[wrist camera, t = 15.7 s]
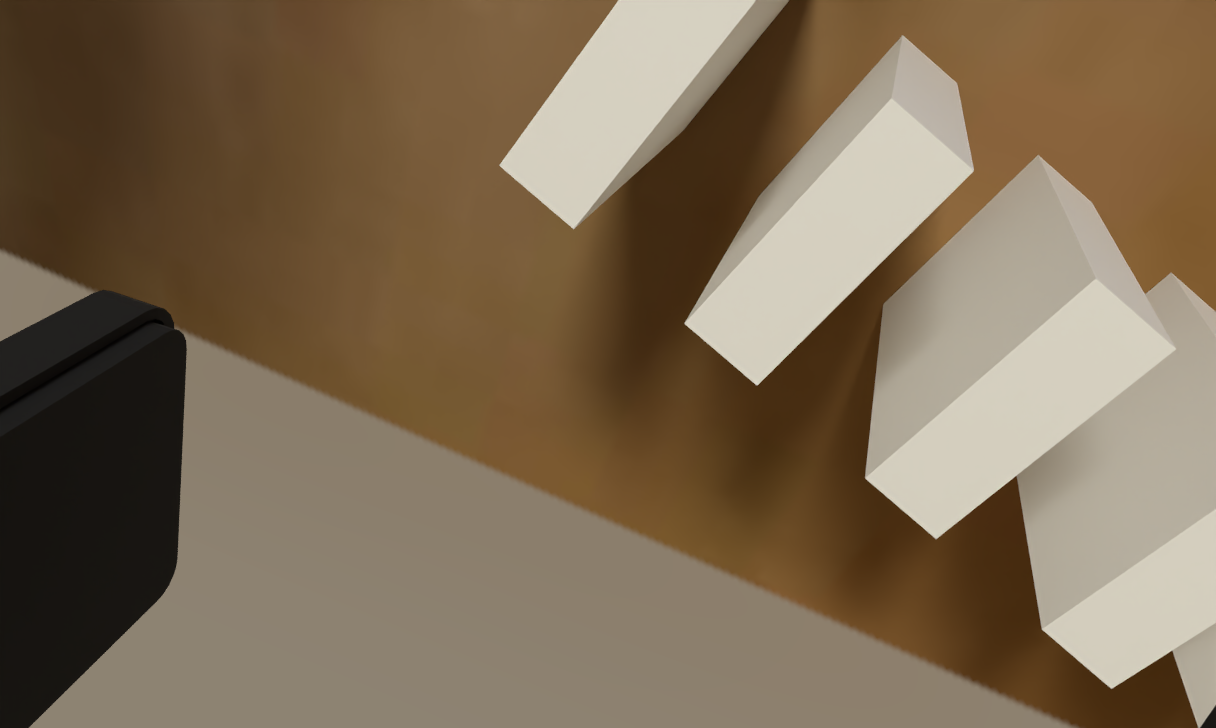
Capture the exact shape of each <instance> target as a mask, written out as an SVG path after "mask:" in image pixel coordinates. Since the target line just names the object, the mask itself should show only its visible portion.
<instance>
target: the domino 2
mask: <svg viewBox="0 0 1216 728" xmlns="http://www.w3.org/2000/svg"><path fill="white" fill-rule="evenodd" d="M973 171H974V168H973V163H972V158H971V153H970V148H969V142H968V137H967V132H966V127H965V122H964V117H963V111H962V106H961V101H960V96H959V91H958V86H957V83H956V82H955V81H954V80H953V79H952V78H950V77H949V76H948V75H947V74H946V73H945V72H944V71H943V70H941V69H940V68H939V67H938V66H937V65H936V64H935V63H933V62H932V61H931V60H930V59H929V58H928V57H927V56H926V55H924V54H923V53H922V52H921V51H920V50H919V49H918V48H917V47H915V46H914V45H913V44H912V43H911V42H910V41H909V40H907V39H906V38H905V37H904V36H903V35H902V37H901V38H900V39H899V40H898V41H897V42H896V43H895V44H894V46H893V47H892V48H891V49H890V50H889V51H888V52H887V53H886V54H885V56H884V57H883V58H882V59H881V60H880V61H879V62H878V63H877V65H876V66H875V67H874V68H873V69H872V70H871V71H870V72H869V74H868V75H867V76H866V77H865V78H864V79H863V80H862V81H861V82H860V84H859V85H858V86H857V87H856V88H855V89H854V90H853V91H852V93H851V94H850V95H849V96H848V97H847V98H846V99H845V100H844V101H843V103H842V104H841V105H840V106H839V107H838V108H837V109H836V110H835V112H834V113H833V114H832V115H831V116H830V117H829V118H828V119H827V121H826V122H825V123H824V124H823V125H822V126H821V127H820V128H819V129H818V131H817V132H816V133H815V134H814V135H813V136H812V137H811V138H810V140H809V141H808V142H807V143H806V144H805V145H804V146H803V147H802V149H801V150H800V151H799V152H798V153H797V154H796V155H795V156H794V157H793V159H792V160H791V161H790V162H789V163H788V164H787V165H786V166H785V168H784V169H783V170H782V171H781V172H780V173H779V174H778V175H777V176H776V178H775V179H774V180H773V181H772V182H771V183H770V184H769V185H768V187H767V188H766V189H765V190H764V191H763V192H762V193H761V194H760V196H759V197H758V199H757V200H756V202H755V204H754V205H753V207H752V209H751V210H750V212H749V214H748V216H747V217H746V219H745V221H744V222H743V224H742V226H741V228H740V229H739V231H738V233H737V234H736V236H735V238H734V240H733V241H732V243H731V245H730V246H729V248H728V250H727V251H726V253H725V255H724V257H723V258H722V260H721V262H720V263H719V265H718V267H717V269H716V270H715V272H714V274H713V275H712V277H711V279H710V281H709V282H708V284H707V286H706V287H705V289H704V291H703V293H702V294H701V296H700V298H699V299H698V301H697V303H696V304H695V306H694V308H693V310H692V311H691V313H690V315H689V316H688V318H687V320H686V322H685V323H684V324H685V325H686V326H688V327H689V328H690V329H691V330H692V331H694V332H695V333H696V334H697V335H698V336H699V337H701V338H702V339H703V340H704V341H705V342H706V343H708V344H709V345H710V346H711V347H712V348H713V349H715V350H716V351H717V352H718V353H719V354H720V355H722V356H723V357H724V358H725V359H726V360H727V361H729V362H730V363H731V364H732V365H733V366H734V367H736V368H737V369H738V370H739V371H740V372H741V373H743V374H744V375H745V376H746V377H747V378H749V379H750V380H751V381H752V382H753V383H754V384H756V385H758V384H759V383H760V382H761V381H762V380H763V379H764V378H765V377H766V376H767V375H768V374H770V373H771V372H772V371H773V370H774V369H775V368H776V367H777V366H778V365H779V364H780V363H781V362H782V361H783V360H784V359H785V358H786V357H787V356H788V355H789V354H790V353H791V352H792V351H793V350H794V349H795V348H796V347H797V346H798V345H799V344H800V343H801V342H802V341H803V340H804V339H805V338H806V337H807V336H808V335H809V334H810V333H811V332H812V331H813V330H814V329H815V328H816V327H817V326H818V325H819V324H820V323H821V322H822V321H823V320H824V319H825V318H826V317H827V316H828V315H829V314H830V313H831V312H832V311H833V310H834V309H835V308H836V307H837V306H838V305H839V304H840V303H841V302H842V301H843V300H844V299H845V298H846V297H847V296H848V295H849V294H850V293H851V292H852V291H853V290H854V289H855V288H856V287H857V286H858V285H859V284H860V283H861V282H862V281H863V280H864V279H865V278H866V277H867V276H868V275H869V274H870V273H871V272H872V271H873V270H874V269H875V268H876V267H877V266H878V265H879V264H880V263H881V262H882V261H883V260H884V259H885V258H886V257H887V256H888V255H889V254H890V253H892V252H893V251H894V250H895V249H896V248H897V247H898V246H899V245H900V244H901V243H902V242H903V241H904V240H905V239H906V238H907V237H908V236H909V235H910V234H911V233H912V232H913V231H914V230H915V229H916V228H917V227H918V226H919V225H920V224H921V223H922V222H923V221H924V220H925V219H926V218H927V217H928V216H929V215H930V214H931V213H932V212H933V211H934V210H935V209H936V208H937V207H938V206H939V205H940V204H941V203H942V202H943V201H944V200H945V199H946V198H947V197H948V196H949V195H950V194H951V193H952V192H953V191H954V190H955V189H956V188H957V187H958V186H959V185H960V184H961V183H962V182H963V181H964V180H965V179H966V178H967V177H968V176H969V175H970V174H971V173H972V172H973Z"/></svg>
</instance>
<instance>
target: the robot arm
mask: <svg viewBox="0 0 1216 728" xmlns="http://www.w3.org/2000/svg"><path fill="white" fill-rule="evenodd" d="M186 351H187V350H186V340H185V337H184V335H183V334H182V333H181V332H180V331H179V330H176V329H174V322H173V320H172V317H171V315H170V314H169V313H168V312H167V311H166V310H165V309H163V308H160V307H157V306H154V305H151V304H148V303H145V302H142V301H139V300H136V299H133V298H130V297H127V296H124V295H121V294H118V293H115V292H112V291H106V290H102V291H99V292H95V293H93V294H91V295H89V296H87V297H85V298H84V299H81V300H79V301H77V302H75V303H73V304H72V305H70V306H68V307H66V308H64V309H62V310H60V311H58V312H56V313H54V314H52V315H50V316H49V317H47V318H45V319H43V320H41V321H39V322H37V323H35V324H33V325H31V326H29V327H27V328H25V329H24V330H21V331H20V332H18V333H16V334H14V335H12V336H10V337H8V338H6V339H4V340H2V341H0V728H29V727H30V726H31V725H32V724H33V723H34V722H35V721H36V720H37V719H38V718H39V717H40V716H41V715H42V714H43V713H44V712H45V711H46V710H47V709H48V708H49V707H50V706H51V705H52V704H53V703H54V702H55V701H56V700H57V699H58V698H59V697H60V696H61V695H62V694H63V693H64V692H65V691H66V690H67V689H68V688H69V687H70V686H71V685H72V684H73V683H74V682H75V681H76V680H77V679H78V678H79V677H80V676H81V675H83V674H84V673H85V671H87V670H88V669H89V667H91V666H92V665H93V663H95V662H96V661H97V660H98V659H99V658H100V657H101V656H102V655H103V654H104V653H105V652H106V651H107V650H108V649H109V648H110V647H111V646H112V645H113V644H114V643H115V642H116V641H117V640H118V639H119V638H120V637H121V636H122V635H123V634H124V633H125V632H126V631H127V630H128V629H129V628H130V627H131V626H132V625H133V624H134V623H135V622H136V621H137V620H138V619H139V618H140V617H141V616H142V615H143V614H144V613H145V612H146V611H147V610H148V609H149V608H150V607H151V606H152V605H153V604H155V603H156V602H157V600H158V599H159V598H160V597H161V596H162V595H163V593H164V592H165V590H166V589H167V587H168V586H169V584H170V581H171V579H172V577H173V575H174V572H175V568H176V564H177V554H178V553H177V552H178V532H179V509H180V487H181V486H180V485H181V464H182V441H183V419H184V396H185V372H186ZM1200 728H1216V705H1215V707H1214V708H1213V710H1212V711H1211V712H1210V714H1209V715H1208V717H1207V718H1206V720H1205V721H1204V723H1203V724H1202V725H1201V727H1200Z"/></svg>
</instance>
